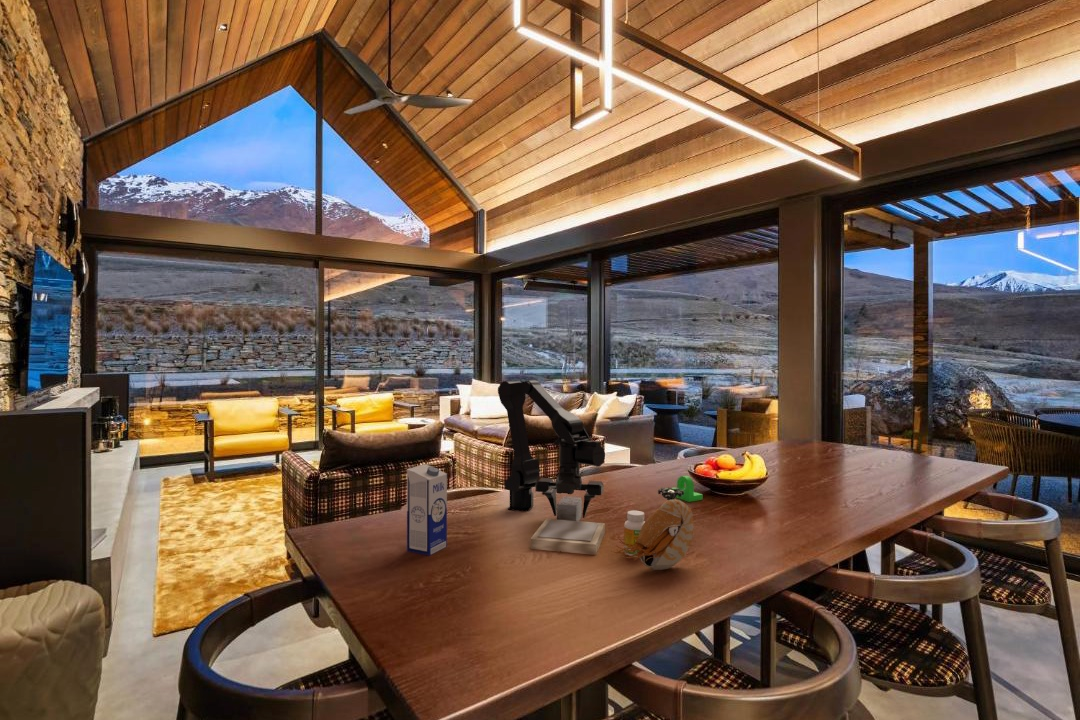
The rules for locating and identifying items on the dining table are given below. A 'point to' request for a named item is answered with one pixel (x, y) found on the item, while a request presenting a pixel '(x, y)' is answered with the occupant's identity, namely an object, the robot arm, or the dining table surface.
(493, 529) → the dining table surface
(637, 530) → the supplement bottle
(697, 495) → the mechanical part
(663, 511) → the nautilus
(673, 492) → the valve
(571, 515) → the block
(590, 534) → the stand
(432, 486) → the milk carton
